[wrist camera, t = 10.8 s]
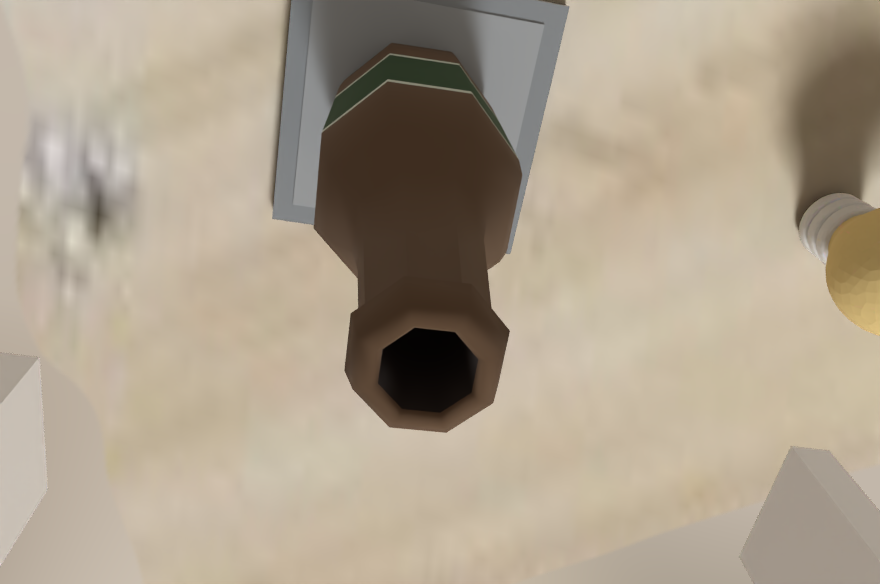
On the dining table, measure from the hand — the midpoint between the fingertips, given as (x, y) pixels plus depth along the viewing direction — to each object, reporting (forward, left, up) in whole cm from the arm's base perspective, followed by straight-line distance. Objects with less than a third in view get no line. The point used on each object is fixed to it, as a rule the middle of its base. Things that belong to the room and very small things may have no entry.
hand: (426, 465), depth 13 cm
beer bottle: (0, 0, -27) cm, 27 cm away
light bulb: (+24, -2, -28) cm, 37 cm away
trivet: (0, 0, -28) cm, 28 cm away
